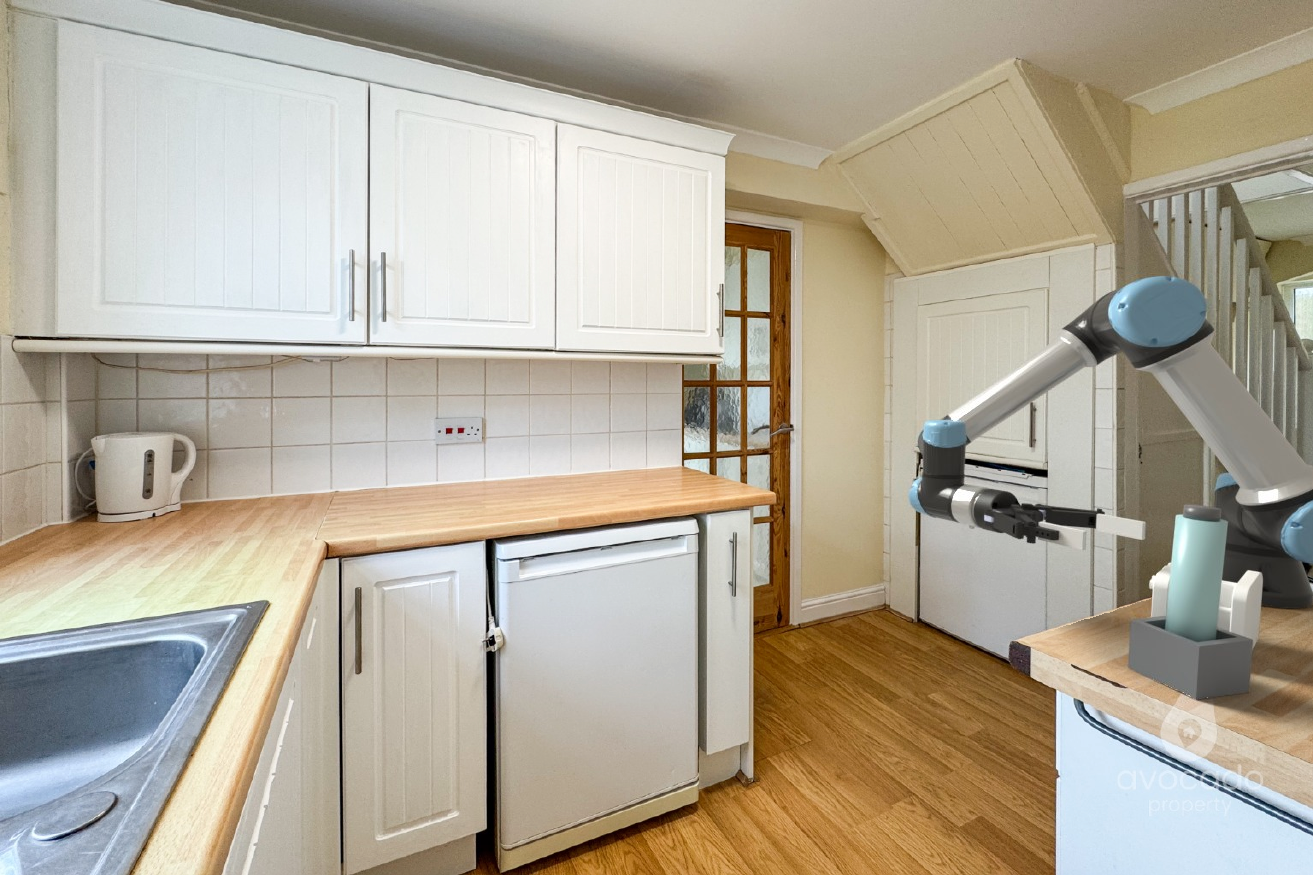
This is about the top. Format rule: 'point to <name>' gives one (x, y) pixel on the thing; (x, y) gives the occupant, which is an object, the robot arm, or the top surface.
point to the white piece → (1221, 602)
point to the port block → (1190, 659)
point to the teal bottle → (1196, 573)
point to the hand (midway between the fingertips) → (1115, 535)
